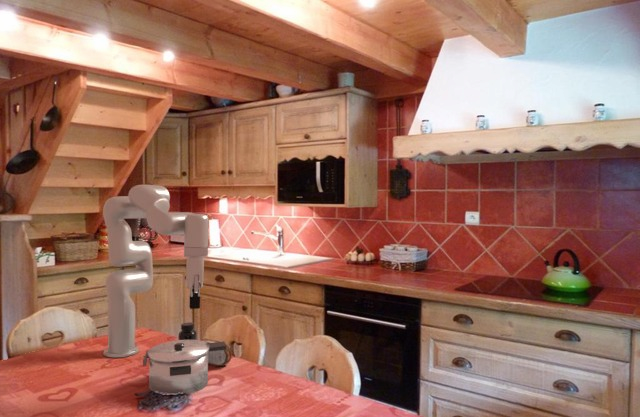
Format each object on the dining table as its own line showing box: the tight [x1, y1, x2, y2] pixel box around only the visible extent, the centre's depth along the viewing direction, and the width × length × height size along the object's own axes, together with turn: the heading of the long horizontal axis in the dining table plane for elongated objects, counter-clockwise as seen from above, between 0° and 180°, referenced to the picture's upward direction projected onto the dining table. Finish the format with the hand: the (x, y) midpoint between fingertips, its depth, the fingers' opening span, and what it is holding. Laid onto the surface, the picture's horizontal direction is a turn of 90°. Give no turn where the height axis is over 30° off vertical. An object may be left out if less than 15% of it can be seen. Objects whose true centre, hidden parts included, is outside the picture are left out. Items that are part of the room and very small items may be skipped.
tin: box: [200, 338, 232, 367], centre depth 168 cm, size 15×3×8 cm, turn 64°
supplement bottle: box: [177, 321, 198, 340], centre depth 176 cm, size 7×7×12 cm
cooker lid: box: [144, 339, 227, 363], centre depth 149 cm, size 19×25×3 cm
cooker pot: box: [142, 354, 209, 395], centre depth 148 cm, size 24×20×10 cm
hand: (194, 308), depth 151 cm, fingers closed
